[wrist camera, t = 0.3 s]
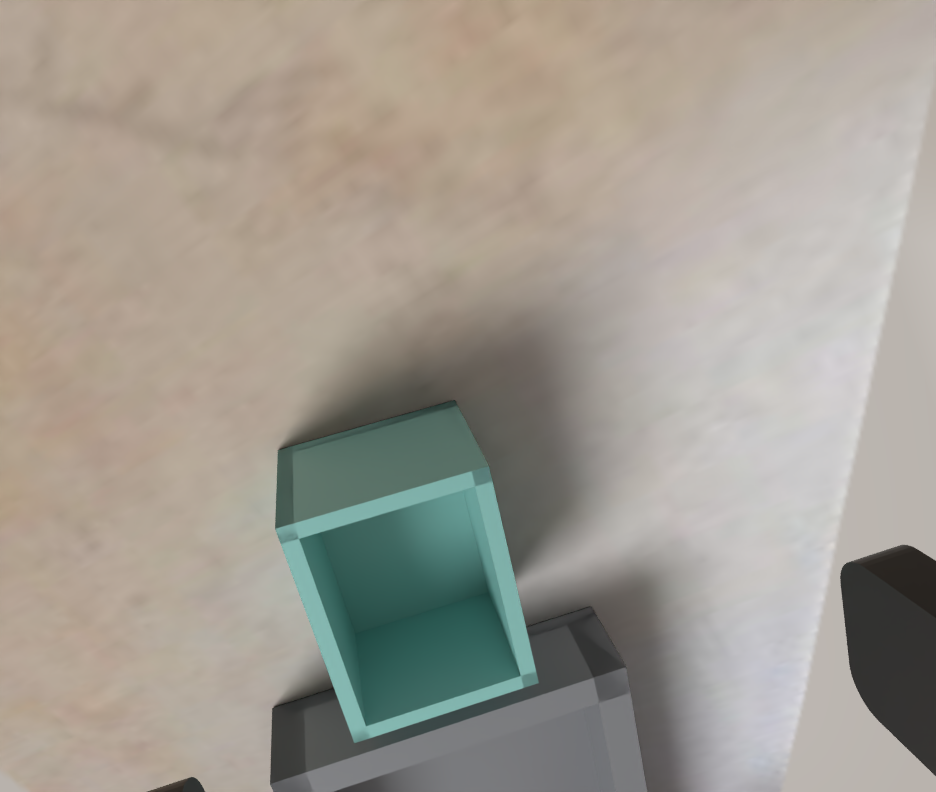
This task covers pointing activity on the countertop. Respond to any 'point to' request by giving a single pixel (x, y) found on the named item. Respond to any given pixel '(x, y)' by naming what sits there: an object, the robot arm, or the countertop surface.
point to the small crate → (403, 568)
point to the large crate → (483, 732)
